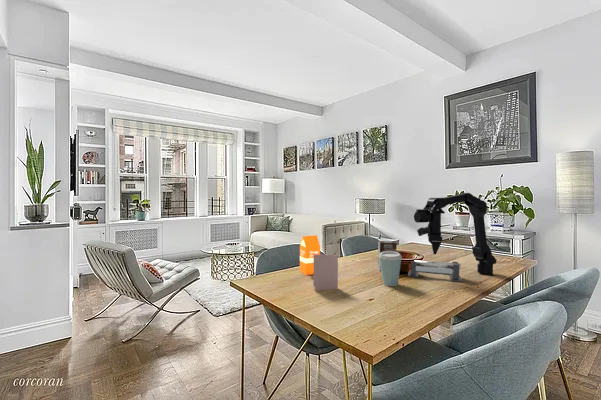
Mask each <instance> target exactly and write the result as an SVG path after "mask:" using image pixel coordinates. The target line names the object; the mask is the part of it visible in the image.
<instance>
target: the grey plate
mask: <svg viewBox="0 0 601 400" xmlns="http://www.w3.org/2000/svg"><path fill="white" fill-rule="evenodd" d="M416 272H418V273H424V274H425V273H426V274H427V273H428V274H435V275H436V274H437V275H446V276H447V275H448V276H449V275H452V269H446V268H434V267H422V266H416Z"/></svg>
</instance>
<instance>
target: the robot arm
mask: <svg viewBox="0 0 601 400" xmlns="http://www.w3.org/2000/svg"><path fill="white" fill-rule="evenodd" d="M462 202H463V203H464V205H466V206H467V207H468V211H469V213H470V215H471V216H472V218H473V228H474V234H475V235H474V237H475V244H474V246H472V247H471V250H472V255H473V257H474V258H475V261H476V262H478V263H477V264H476V266H477V267H476V271H477V273H478V274H479V275H484V276H494V265H496V264H497V259H496V257H495V256H494V255H493V253H492V249H491V247H490V246H489V244H488V242H487V232H486V223H485V215H486V213H487V212H488V211H487V210H488V209H487V208H488V204H487V202H486V201H485V200H483V199H480V198H479V197H477V196H474V195H473V194H472V193H470V192H461V193H459V194H458V193H457V194H454V195H449V196H445V197H429V198H428V200H427V201H426V204H425V205H424V207H423V208H422V209H420V208H417V209H416V211H415V213H414V215H413V219H414V222H415V223H418V224H420V223H428V224H427V226H425V227H419V228H417V229H416V232H417V235H418V236H419V237H422V236H424V235H427V238H428V242H429V243H430V244H431V249H432V252H433V255H436V254H437V253H438V252H439V248H440V247H441V244H442V243H443V236H442V228H441V227H442V214H445V213H446V212H445V210H443V209H444V208H445V207H447V206H448V205H449V206H450V205H453V204H457V203H462Z"/></svg>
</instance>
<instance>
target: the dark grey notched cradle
mask: <svg viewBox="0 0 601 400" xmlns="http://www.w3.org/2000/svg"><path fill="white" fill-rule="evenodd" d="M451 263H459V262H458V261H451ZM459 264H460V263H459ZM459 264H453V269H452V275H448V276H449V279H450V282H459V283H462V282H463V279H462V277H461V275H460V270H459ZM409 271H410V270H409ZM409 271H408V273H407V277H408V278H415V279H419V272H416V261H411V271H410V272H409Z"/></svg>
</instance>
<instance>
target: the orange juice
mask: <svg viewBox="0 0 601 400" xmlns="http://www.w3.org/2000/svg"><path fill="white" fill-rule="evenodd" d="M299 244H300V245H299V272H300V271H301V272H300V273H302V274H304V275H314V274H313V273H314V254H317V255H321V245H320V241H319V238H318V235H314V234H313V235H304V236H303V235H302V238H301V241H300V243H299Z"/></svg>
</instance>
